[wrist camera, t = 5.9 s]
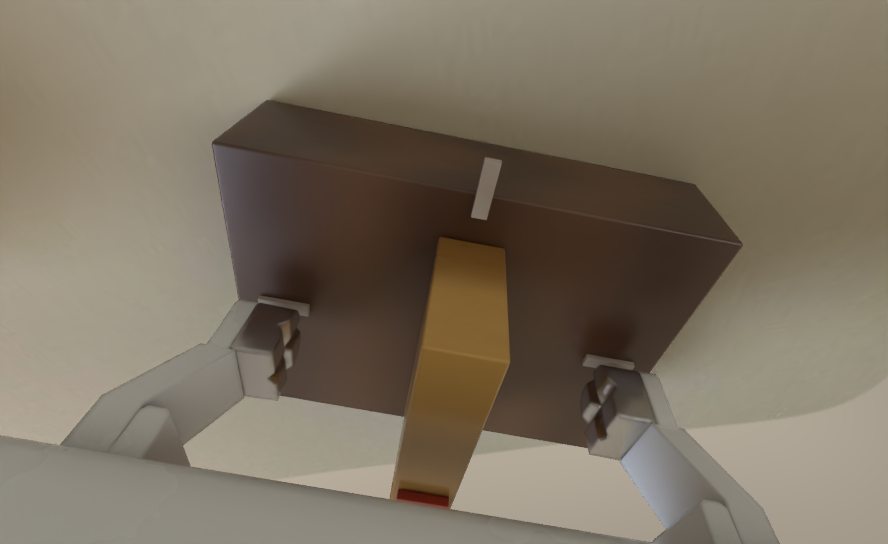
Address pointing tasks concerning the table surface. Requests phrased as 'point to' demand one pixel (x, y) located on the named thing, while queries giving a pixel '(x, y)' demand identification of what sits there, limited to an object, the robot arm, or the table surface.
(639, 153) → the table surface
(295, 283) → the knob panel
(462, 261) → the rod knob
